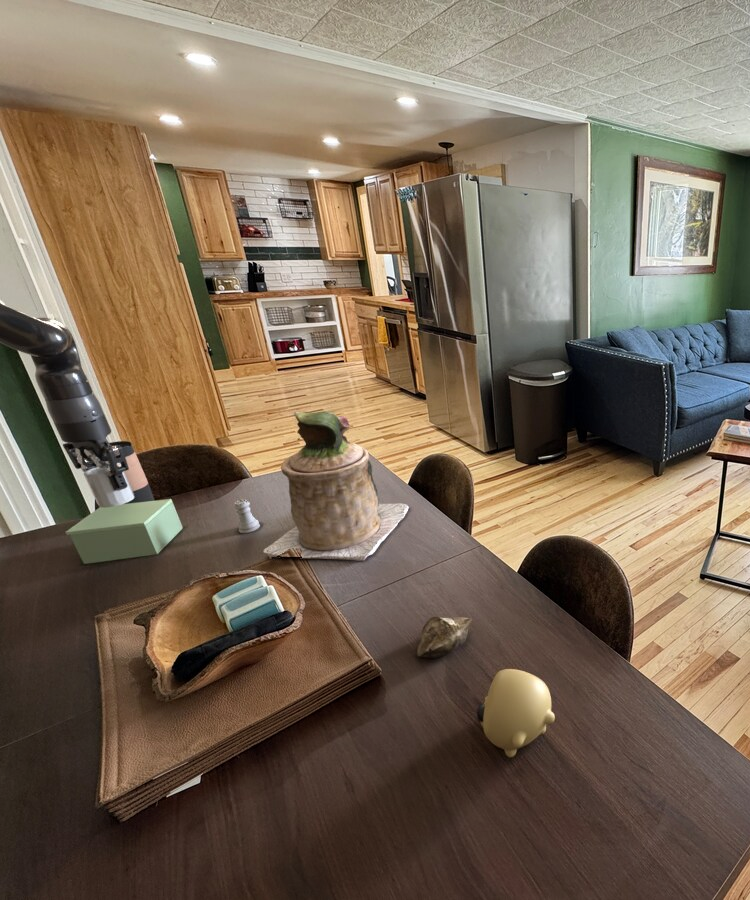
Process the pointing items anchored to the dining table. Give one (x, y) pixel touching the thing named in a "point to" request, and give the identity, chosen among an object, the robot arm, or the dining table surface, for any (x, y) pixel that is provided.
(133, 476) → the travel mug
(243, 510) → the rook chess piece
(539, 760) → the dining table surface
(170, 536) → the container
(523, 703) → the toy pig
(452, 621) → the fossilized seashell
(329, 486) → the cookie jar
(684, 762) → the dining table surface
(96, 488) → the cup
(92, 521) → the container lid
